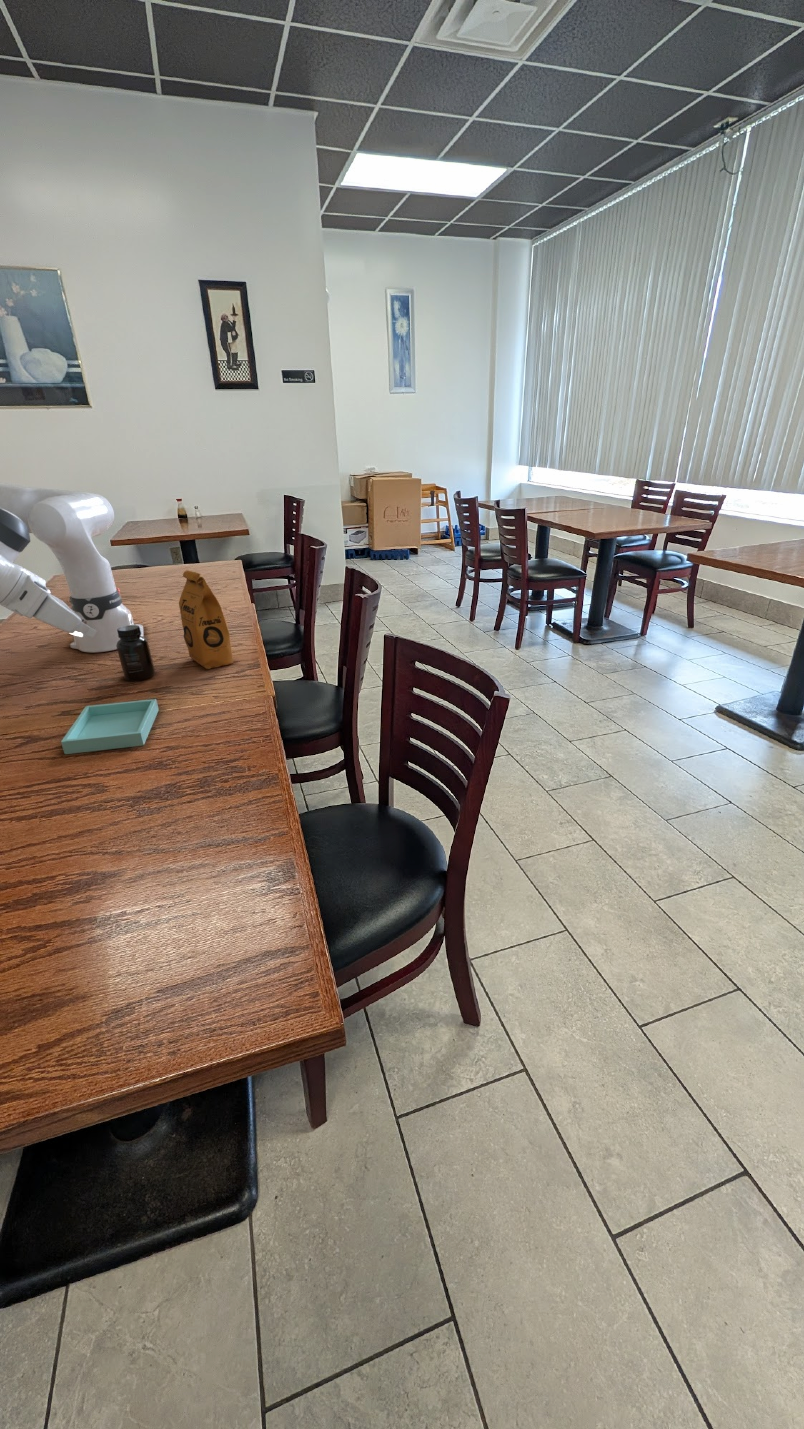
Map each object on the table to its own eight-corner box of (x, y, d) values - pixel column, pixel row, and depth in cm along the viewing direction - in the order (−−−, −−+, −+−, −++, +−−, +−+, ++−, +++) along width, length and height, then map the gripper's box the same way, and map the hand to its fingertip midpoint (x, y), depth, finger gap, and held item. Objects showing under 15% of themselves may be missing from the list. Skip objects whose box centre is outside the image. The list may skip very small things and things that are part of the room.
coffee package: (198, 673, 140) (180, 581, 130) (185, 658, 149) (167, 571, 140) (239, 663, 145) (224, 574, 135) (224, 650, 154) (209, 566, 144)
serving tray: (89, 717, 119) (85, 705, 118) (158, 710, 122) (156, 698, 120) (64, 754, 106) (60, 741, 104) (143, 745, 108) (140, 732, 107)
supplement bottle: (161, 672, 141) (150, 624, 136) (141, 683, 135) (129, 633, 130) (138, 669, 143) (127, 622, 138) (118, 680, 137) (105, 631, 132)
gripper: (9, 596, 127) (71, 630, 136) (23, 616, 112) (91, 652, 122) (26, 572, 127) (87, 608, 137) (42, 589, 112) (108, 627, 122)
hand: (89, 629), depth 129 cm, fingers open, 8 cm apart
